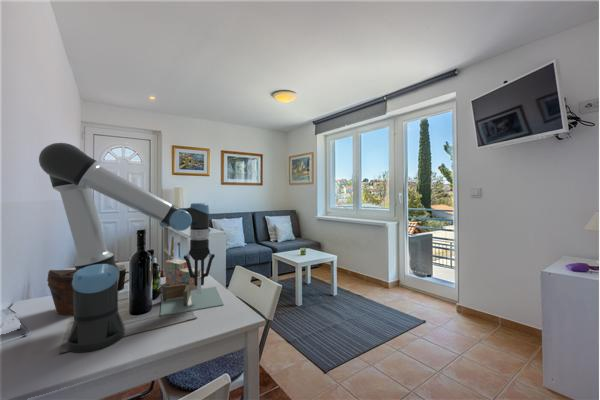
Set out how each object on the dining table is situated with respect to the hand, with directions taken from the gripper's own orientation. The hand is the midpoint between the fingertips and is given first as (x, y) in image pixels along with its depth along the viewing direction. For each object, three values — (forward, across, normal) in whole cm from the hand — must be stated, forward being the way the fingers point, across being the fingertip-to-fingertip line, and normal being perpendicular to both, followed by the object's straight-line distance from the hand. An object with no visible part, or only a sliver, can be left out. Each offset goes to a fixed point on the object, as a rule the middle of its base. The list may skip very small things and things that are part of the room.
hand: (199, 292), depth 119 cm
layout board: (+4, -3, +4) cm, 7 cm away
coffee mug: (+5, -38, +31) cm, 49 cm away
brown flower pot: (+6, -47, +11) cm, 49 cm away
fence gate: (+4, -5, +2) cm, 6 cm away
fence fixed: (+5, -10, +8) cm, 13 cm away
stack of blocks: (+5, -8, +27) cm, 28 cm away
